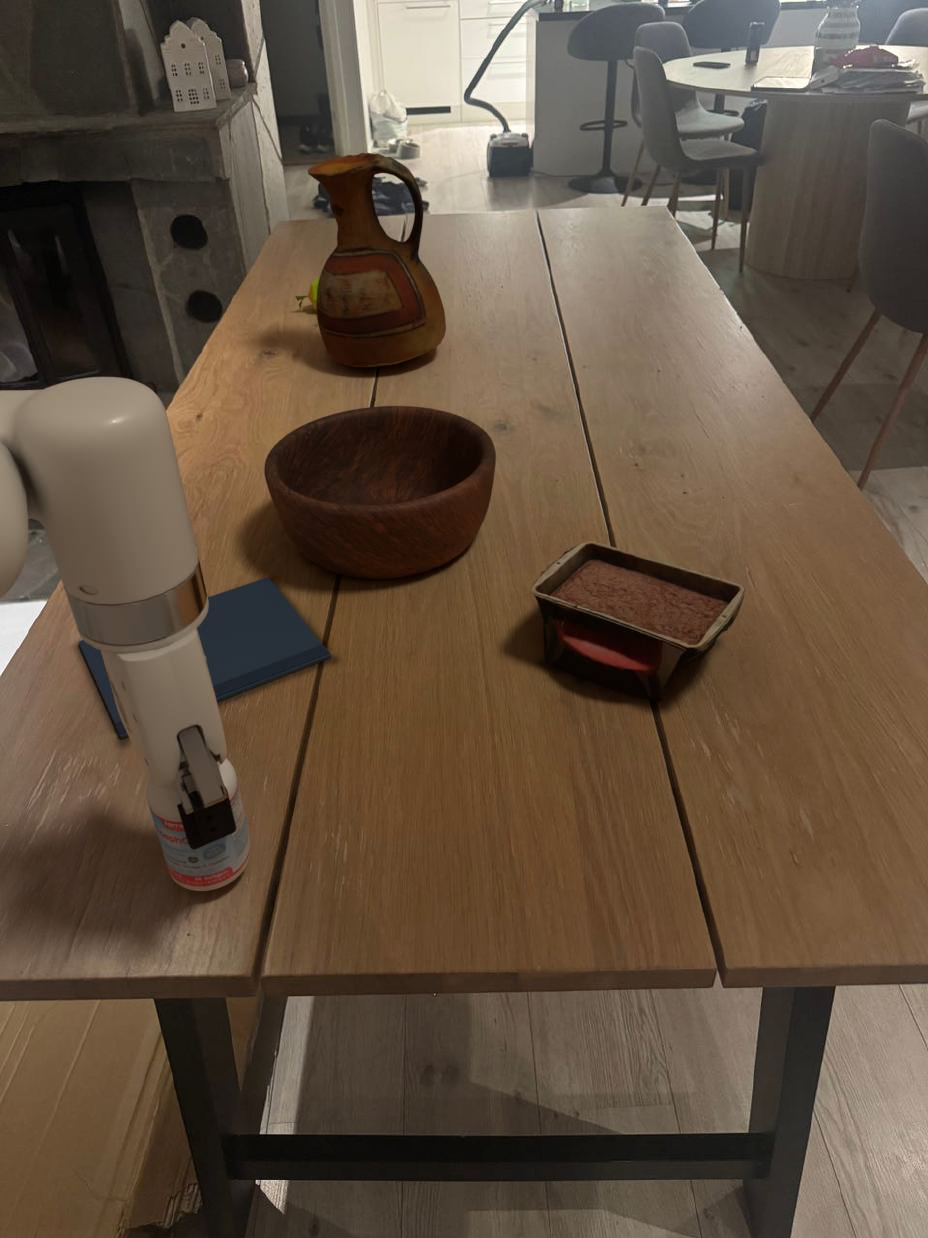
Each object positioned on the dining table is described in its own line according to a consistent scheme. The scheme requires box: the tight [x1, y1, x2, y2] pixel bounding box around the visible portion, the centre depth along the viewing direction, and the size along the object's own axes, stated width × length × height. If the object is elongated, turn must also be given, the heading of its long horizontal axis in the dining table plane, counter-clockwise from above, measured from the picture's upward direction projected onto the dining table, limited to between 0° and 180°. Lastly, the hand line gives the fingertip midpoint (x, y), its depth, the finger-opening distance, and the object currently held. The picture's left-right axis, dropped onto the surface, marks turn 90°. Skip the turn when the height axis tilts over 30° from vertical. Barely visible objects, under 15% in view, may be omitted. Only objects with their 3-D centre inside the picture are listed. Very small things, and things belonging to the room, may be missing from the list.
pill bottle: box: [145, 755, 252, 892], centre depth 65 cm, size 6×6×11 cm
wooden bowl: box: [263, 405, 497, 580], centre depth 103 cm, size 25×25×10 cm
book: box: [78, 576, 332, 740], centre depth 90 cm, size 20×16×1 cm
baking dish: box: [530, 541, 746, 703], centre depth 85 cm, size 14×18×10 cm
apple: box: [294, 277, 320, 311], centre depth 168 cm, size 7×6×9 cm
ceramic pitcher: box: [307, 152, 447, 368], centre depth 141 cm, size 20×20×30 cm
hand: (196, 804), depth 65 cm, fingers closed on pill bottle, 6 cm apart
